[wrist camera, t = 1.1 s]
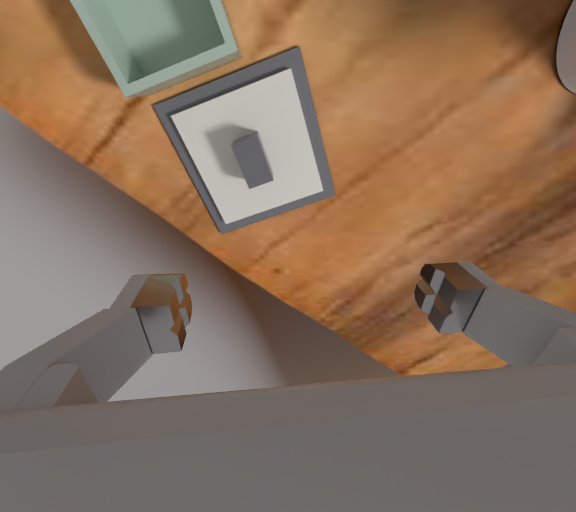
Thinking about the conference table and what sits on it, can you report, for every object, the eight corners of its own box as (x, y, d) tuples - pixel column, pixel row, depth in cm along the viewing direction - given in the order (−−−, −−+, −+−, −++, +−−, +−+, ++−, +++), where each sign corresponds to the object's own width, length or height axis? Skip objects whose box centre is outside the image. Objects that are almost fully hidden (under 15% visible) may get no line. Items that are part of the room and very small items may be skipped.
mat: (299, 46, 28) (299, 46, 28) (334, 194, 37) (335, 195, 37) (154, 105, 30) (153, 105, 30) (221, 232, 39) (221, 234, 39)
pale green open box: (189, -98, 22) (168, -152, 17) (242, 57, 28) (237, 50, 23) (76, -43, 24) (24, -78, 19) (149, 95, 29) (125, 97, 24)
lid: (290, 68, 29) (294, 65, 25) (322, 188, 36) (328, 200, 33) (172, 115, 30) (160, 119, 27) (226, 221, 38) (222, 236, 34)
